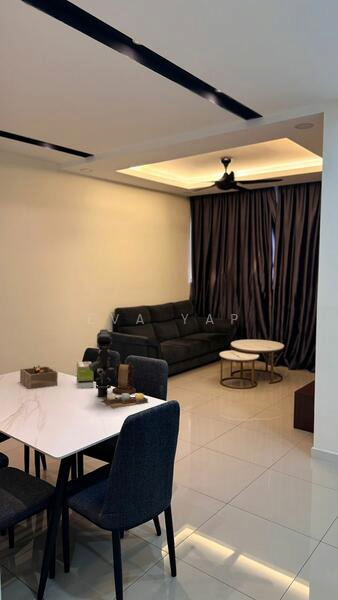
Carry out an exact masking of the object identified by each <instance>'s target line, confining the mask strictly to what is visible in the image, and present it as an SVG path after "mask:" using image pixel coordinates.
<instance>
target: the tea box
mask: <svg viewBox="0 0 338 600" xmlns="http://www.w3.org/2000/svg"><path fill="white" fill-rule="evenodd" d="M91 363H92V361H77V362H76V384H77V387H78V389H79V388H81V389H92V388H91V387H93V388H94V375H95V371H91V370H90V368H89V364H91Z"/></svg>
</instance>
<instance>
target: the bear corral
mask: <svg viewBox="0 0 338 600" xmlns="http://www.w3.org/2000/svg"><path fill="white" fill-rule="evenodd" d="M40 370H44V373H41V374H34V373H35V371H34V368H33V367H30V368H28V367H27V368H20V370H19V371H20V372H19V373H20V377H19V383H20V384H21V385H22V386H24V387H25V388H27V389H28V390H32V389H43V388H48V387H56V386H58V373H59V372H58V371H57V370H54V369H53V368H51V367H50V366H41V367H40Z"/></svg>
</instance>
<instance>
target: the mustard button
mask: <svg viewBox="0 0 338 600" xmlns="http://www.w3.org/2000/svg"><path fill="white" fill-rule="evenodd" d="M134 394H135V395H134V396H135V399H137V400H141V399H144V397H145V395H144V393H141V392H138V393H137V392H136V393H134Z"/></svg>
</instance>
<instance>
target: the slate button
mask: <svg viewBox="0 0 338 600" xmlns="http://www.w3.org/2000/svg"><path fill="white" fill-rule="evenodd" d="M120 397H121V399H123V400H127V399H130V397H131V394H128V393H123V394H121V395H120Z"/></svg>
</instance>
